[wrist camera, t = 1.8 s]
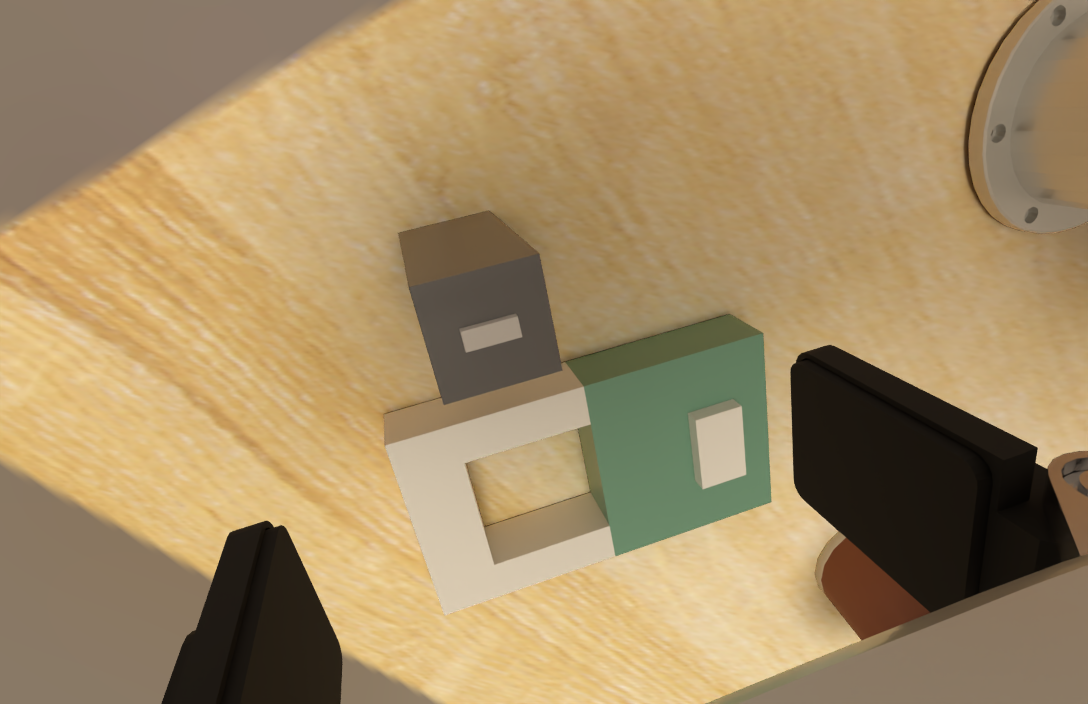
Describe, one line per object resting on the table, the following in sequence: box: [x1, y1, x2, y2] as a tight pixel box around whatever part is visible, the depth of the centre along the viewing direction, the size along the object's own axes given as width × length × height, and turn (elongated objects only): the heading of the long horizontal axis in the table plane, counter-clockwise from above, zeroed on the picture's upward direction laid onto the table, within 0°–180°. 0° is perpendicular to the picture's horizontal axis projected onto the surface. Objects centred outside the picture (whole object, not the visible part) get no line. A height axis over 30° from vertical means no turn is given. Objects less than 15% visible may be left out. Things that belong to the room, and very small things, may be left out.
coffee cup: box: [815, 532, 930, 640], centre depth 35 cm, size 9×9×12 cm
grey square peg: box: [398, 211, 563, 405], centre depth 23 cm, size 4×4×9 cm
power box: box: [384, 314, 771, 615], centre depth 30 cm, size 18×10×4 cm, turn 102°
